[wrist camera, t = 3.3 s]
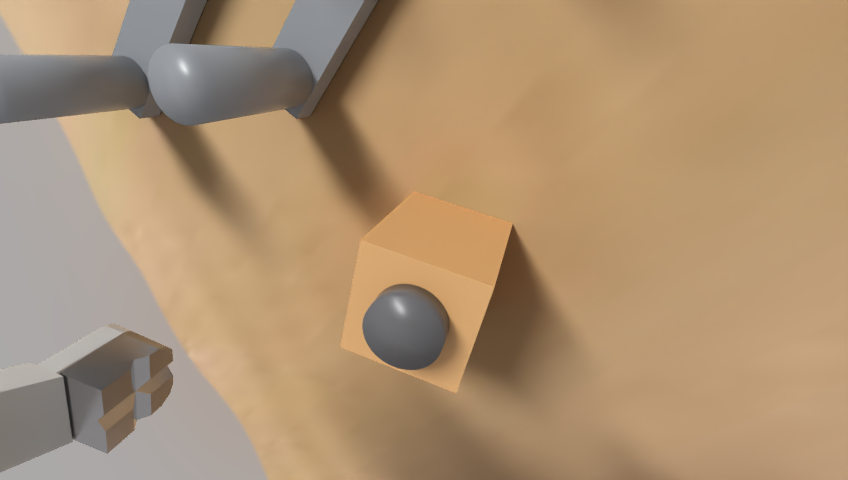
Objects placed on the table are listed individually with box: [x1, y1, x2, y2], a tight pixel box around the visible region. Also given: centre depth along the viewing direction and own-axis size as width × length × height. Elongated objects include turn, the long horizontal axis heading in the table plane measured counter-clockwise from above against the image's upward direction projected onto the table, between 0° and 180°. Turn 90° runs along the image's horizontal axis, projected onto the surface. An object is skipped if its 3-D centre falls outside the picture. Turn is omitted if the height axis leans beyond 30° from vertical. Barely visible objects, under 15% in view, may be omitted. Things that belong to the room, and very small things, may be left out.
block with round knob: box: [340, 192, 512, 393], centre depth 15 cm, size 4×4×6 cm
